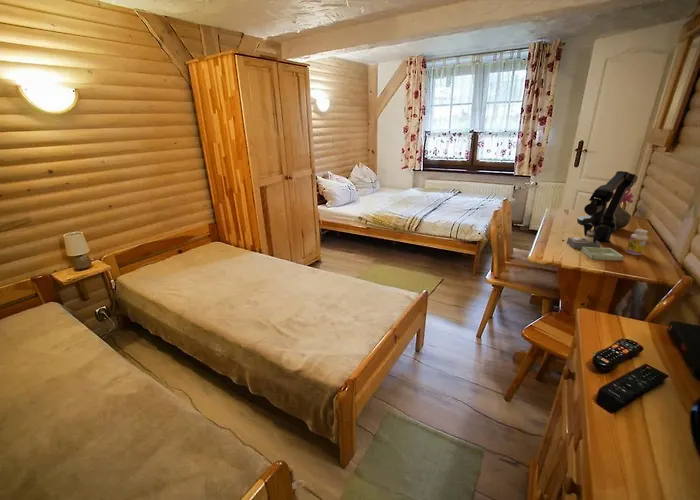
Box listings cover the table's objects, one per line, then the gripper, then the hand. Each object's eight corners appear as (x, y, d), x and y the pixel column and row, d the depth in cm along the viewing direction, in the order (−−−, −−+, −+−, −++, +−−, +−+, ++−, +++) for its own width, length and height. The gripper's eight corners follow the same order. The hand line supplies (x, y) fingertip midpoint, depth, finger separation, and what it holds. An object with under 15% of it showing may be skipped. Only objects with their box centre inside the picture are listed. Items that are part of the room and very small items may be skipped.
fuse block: (591, 244, 181) (593, 237, 180) (599, 249, 174) (601, 242, 172) (566, 243, 183) (568, 236, 181) (573, 248, 176) (575, 241, 174)
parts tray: (609, 252, 170) (610, 248, 169) (622, 260, 160) (623, 256, 159) (580, 251, 172) (582, 246, 171) (591, 259, 162) (593, 255, 161)
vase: (630, 233, 196) (648, 185, 184) (597, 231, 201) (612, 183, 190) (619, 225, 211) (634, 180, 199) (588, 223, 216) (601, 178, 204)
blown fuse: (589, 245, 180) (593, 230, 176) (593, 248, 176) (598, 232, 172) (581, 245, 180) (585, 230, 177) (585, 247, 177) (589, 232, 173)
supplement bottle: (622, 250, 172) (630, 228, 167) (634, 250, 172) (643, 228, 167) (631, 255, 166) (640, 232, 161) (644, 255, 166) (653, 232, 161)
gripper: (573, 206, 180) (566, 232, 186) (591, 216, 163) (582, 244, 169) (594, 207, 178) (586, 233, 184) (615, 216, 161) (605, 245, 167)
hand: (589, 238), depth 176 cm, fingers open, 8 cm apart
